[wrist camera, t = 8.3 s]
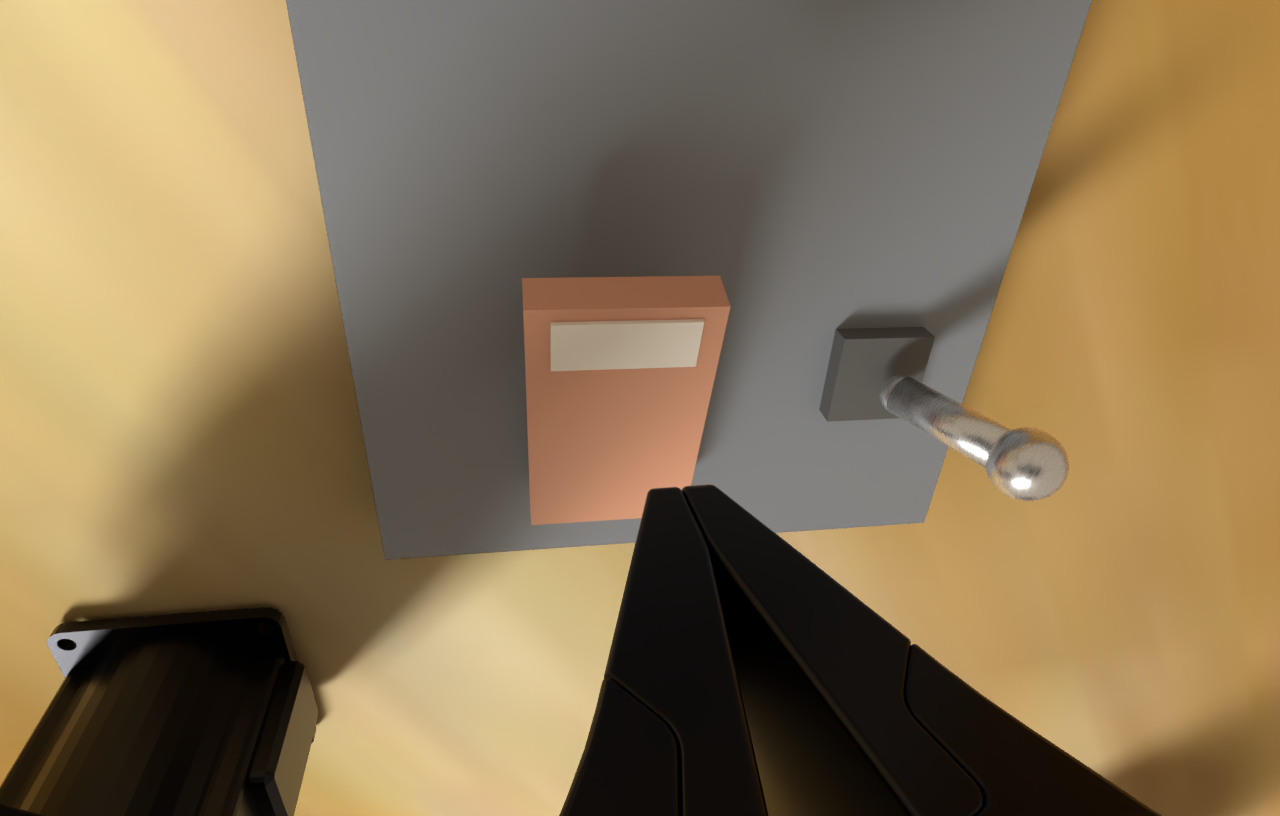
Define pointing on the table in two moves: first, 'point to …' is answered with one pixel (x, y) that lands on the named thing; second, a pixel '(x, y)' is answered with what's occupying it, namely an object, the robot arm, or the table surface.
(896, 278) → the switch panel
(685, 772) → the robot arm
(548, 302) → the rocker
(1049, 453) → the toggle
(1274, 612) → the table surface
